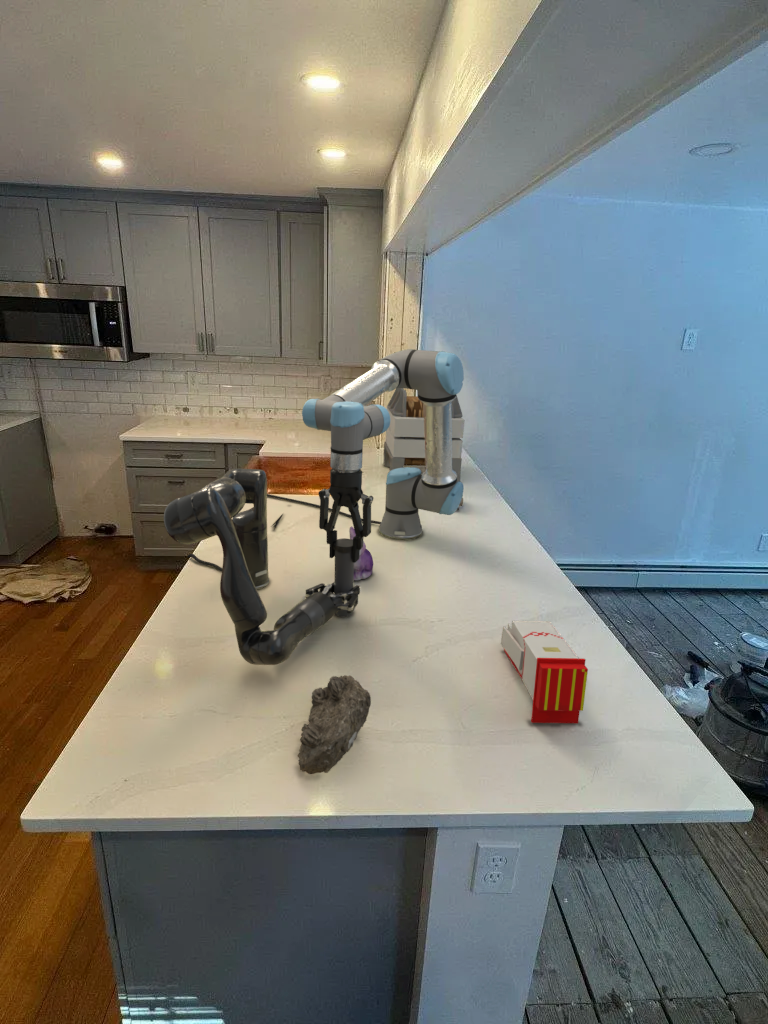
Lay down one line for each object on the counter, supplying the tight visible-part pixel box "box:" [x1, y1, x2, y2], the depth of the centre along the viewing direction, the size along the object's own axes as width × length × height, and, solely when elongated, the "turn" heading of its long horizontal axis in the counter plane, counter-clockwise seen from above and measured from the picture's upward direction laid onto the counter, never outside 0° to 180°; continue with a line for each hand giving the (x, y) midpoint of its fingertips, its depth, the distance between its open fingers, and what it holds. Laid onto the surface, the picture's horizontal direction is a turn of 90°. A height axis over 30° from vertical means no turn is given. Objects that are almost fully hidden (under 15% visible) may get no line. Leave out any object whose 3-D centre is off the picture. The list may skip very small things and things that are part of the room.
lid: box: [333, 538, 353, 553], centre depth 141 cm, size 6×6×2 cm
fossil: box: [296, 674, 372, 775], centre depth 103 cm, size 22×10×15 cm
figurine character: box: [456, 494, 464, 511], centre depth 230 cm, size 7×8×15 cm
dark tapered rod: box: [270, 513, 284, 530], centre depth 210 cm, size 2×28×2 cm
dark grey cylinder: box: [333, 551, 354, 618], centre depth 144 cm, size 5×5×19 cm
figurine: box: [348, 525, 374, 581], centre depth 166 cm, size 9×10×15 cm
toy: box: [500, 620, 589, 724], centre depth 121 cm, size 12×13×30 cm
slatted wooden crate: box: [383, 388, 465, 482], centre depth 268 cm, size 34×33×41 cm
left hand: (349, 586), depth 147 cm, fingers closed on dark grey cylinder, 5 cm apart
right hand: (344, 558), depth 142 cm, fingers closed on lid, 5 cm apart
